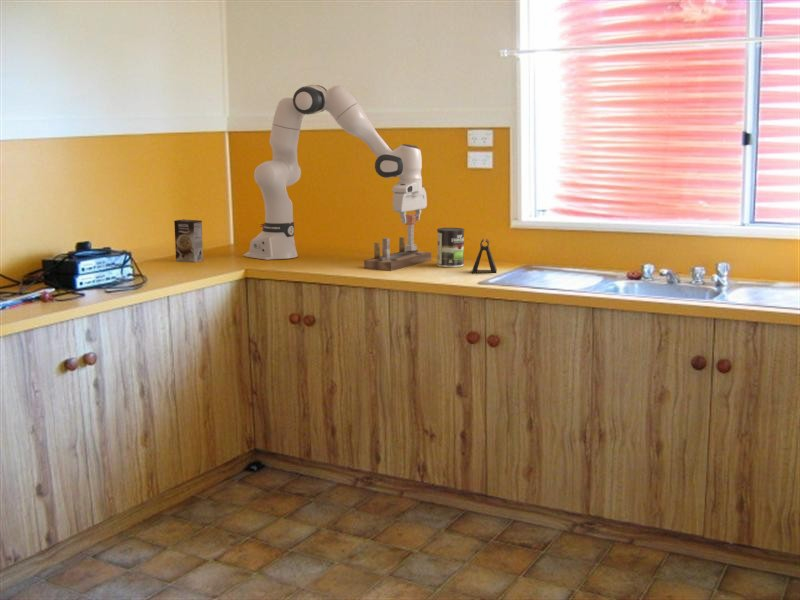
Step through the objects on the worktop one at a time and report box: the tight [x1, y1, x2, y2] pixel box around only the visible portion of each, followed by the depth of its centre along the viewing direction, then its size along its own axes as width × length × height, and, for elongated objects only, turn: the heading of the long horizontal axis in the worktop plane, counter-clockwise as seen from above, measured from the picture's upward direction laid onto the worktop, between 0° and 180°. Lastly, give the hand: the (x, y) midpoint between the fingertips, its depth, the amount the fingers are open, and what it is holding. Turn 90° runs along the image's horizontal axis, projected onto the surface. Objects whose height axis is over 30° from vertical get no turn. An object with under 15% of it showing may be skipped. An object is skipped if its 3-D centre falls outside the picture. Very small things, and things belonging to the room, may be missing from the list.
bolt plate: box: [363, 236, 432, 272], centre depth 380 cm, size 12×30×11 cm, turn 148°
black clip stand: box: [471, 238, 498, 274], centre depth 360 cm, size 9×6×12 cm, turn 82°
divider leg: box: [404, 213, 418, 251], centre depth 386 cm, size 3×4×14 cm
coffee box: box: [173, 218, 204, 263], centre depth 389 cm, size 9×6×16 cm
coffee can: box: [436, 227, 465, 268], centre depth 375 cm, size 10×10×14 cm
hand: (410, 222), depth 385 cm, fingers open, 8 cm apart
